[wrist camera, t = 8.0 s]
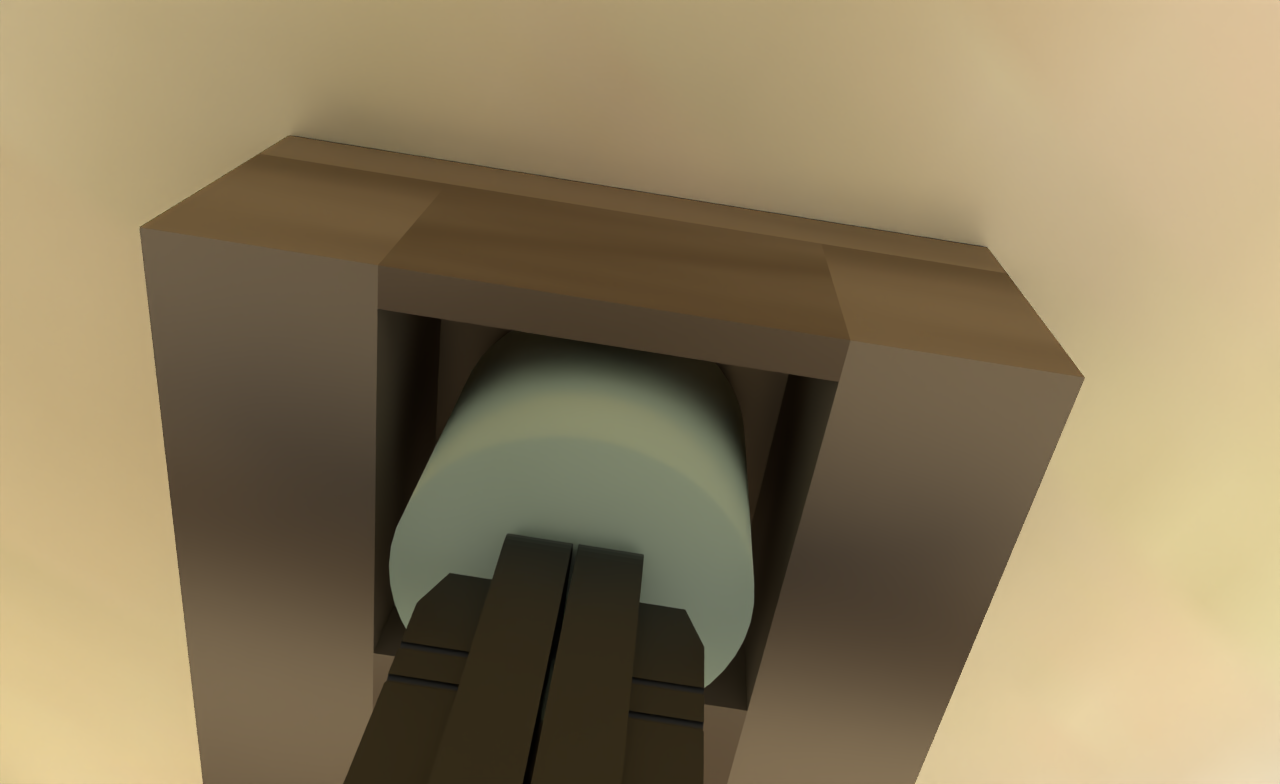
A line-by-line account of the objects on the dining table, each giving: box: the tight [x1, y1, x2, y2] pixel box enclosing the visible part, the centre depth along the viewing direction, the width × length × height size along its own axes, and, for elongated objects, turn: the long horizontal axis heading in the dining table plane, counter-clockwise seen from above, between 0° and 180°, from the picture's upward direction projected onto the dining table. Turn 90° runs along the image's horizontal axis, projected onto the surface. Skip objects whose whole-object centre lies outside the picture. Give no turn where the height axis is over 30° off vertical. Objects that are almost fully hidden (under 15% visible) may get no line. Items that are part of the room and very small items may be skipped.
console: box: [140, 136, 1085, 784], centre depth 17 cm, size 20×10×4 cm, turn 172°
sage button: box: [389, 330, 754, 688], centre depth 12 cm, size 4×4×3 cm
